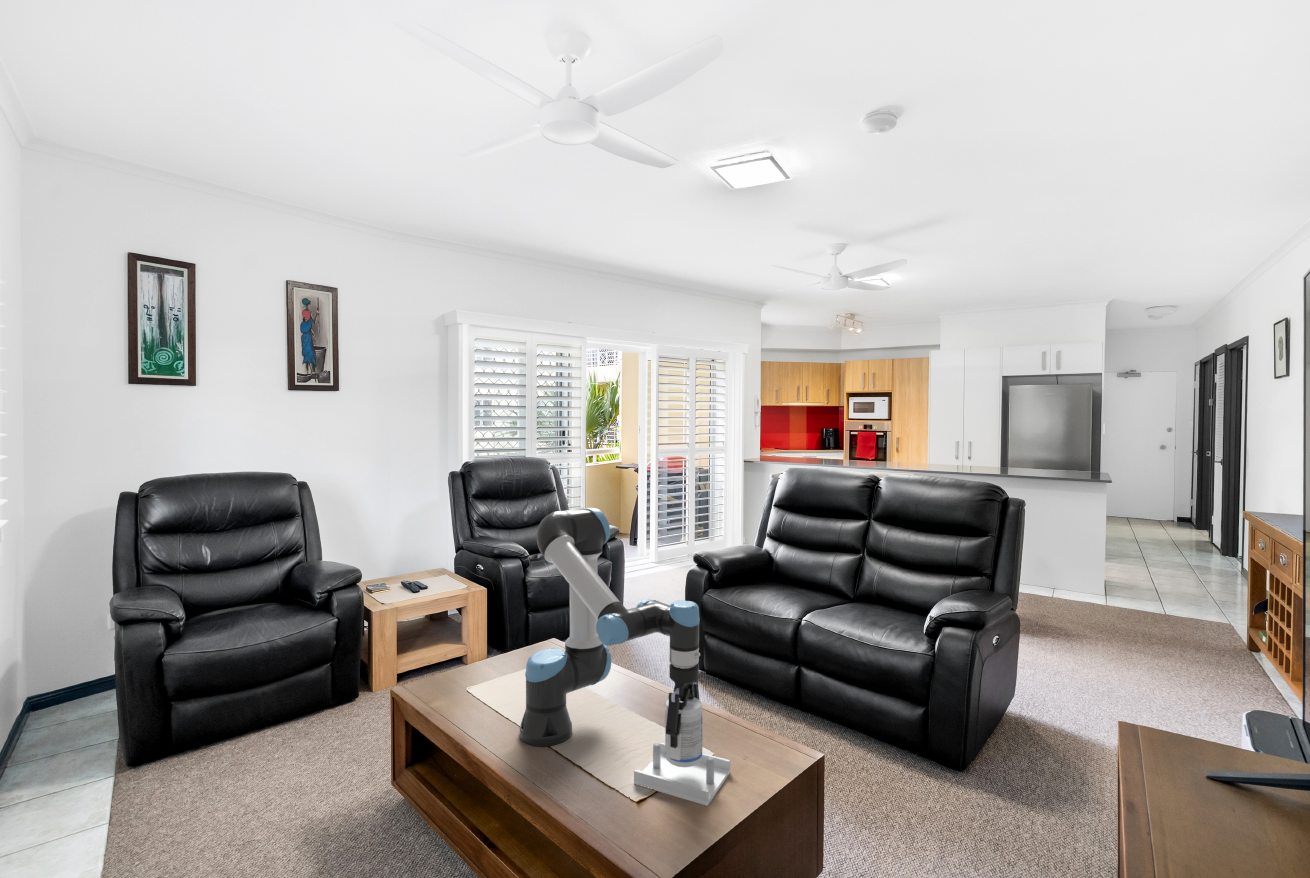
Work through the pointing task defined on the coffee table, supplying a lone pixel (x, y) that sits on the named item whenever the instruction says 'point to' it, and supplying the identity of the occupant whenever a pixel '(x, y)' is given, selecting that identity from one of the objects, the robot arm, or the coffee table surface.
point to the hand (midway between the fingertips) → (683, 749)
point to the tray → (684, 776)
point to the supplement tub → (687, 734)
